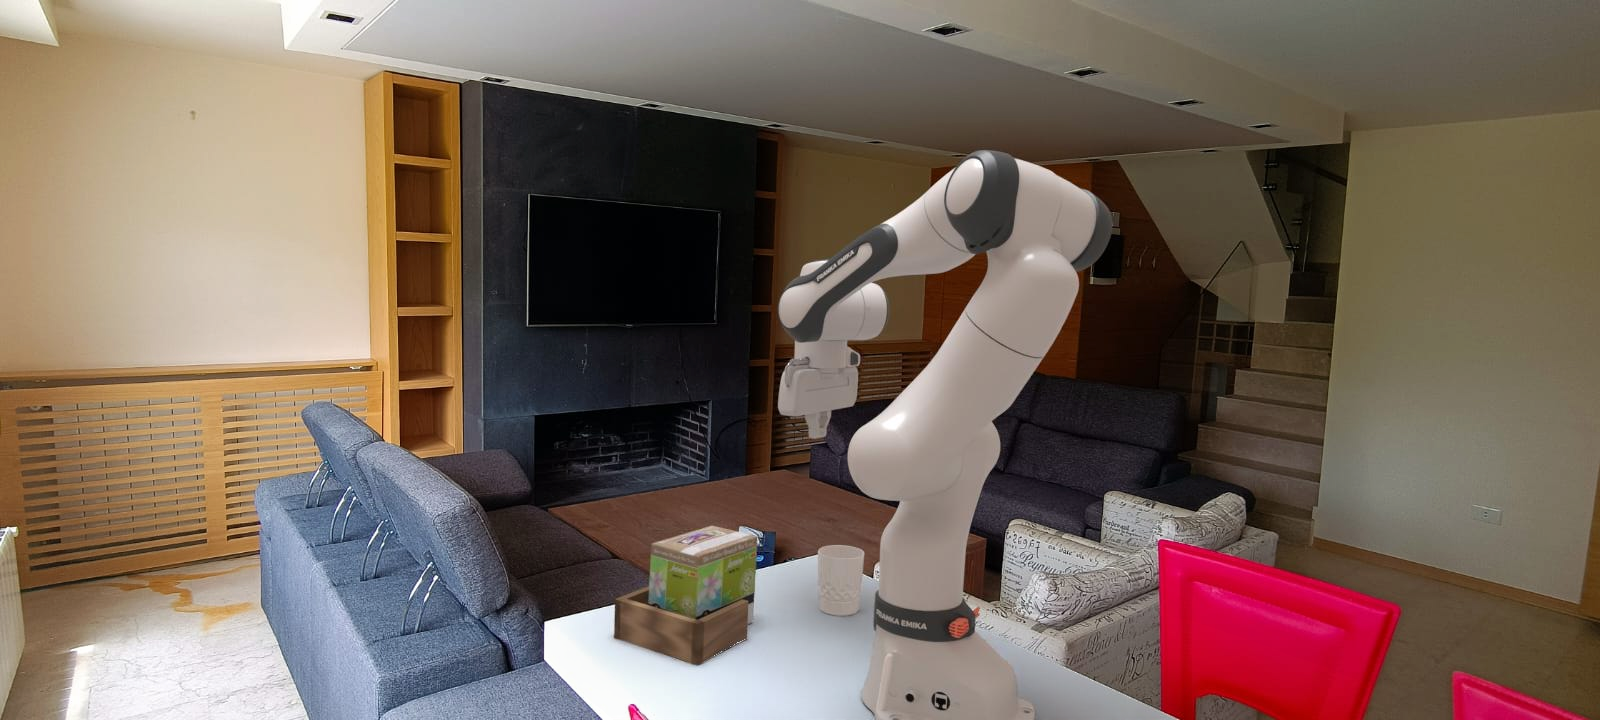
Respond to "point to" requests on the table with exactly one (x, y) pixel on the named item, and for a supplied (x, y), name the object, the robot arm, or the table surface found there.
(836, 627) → the table surface
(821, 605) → the white cup
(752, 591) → the tea box
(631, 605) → the wooden box
